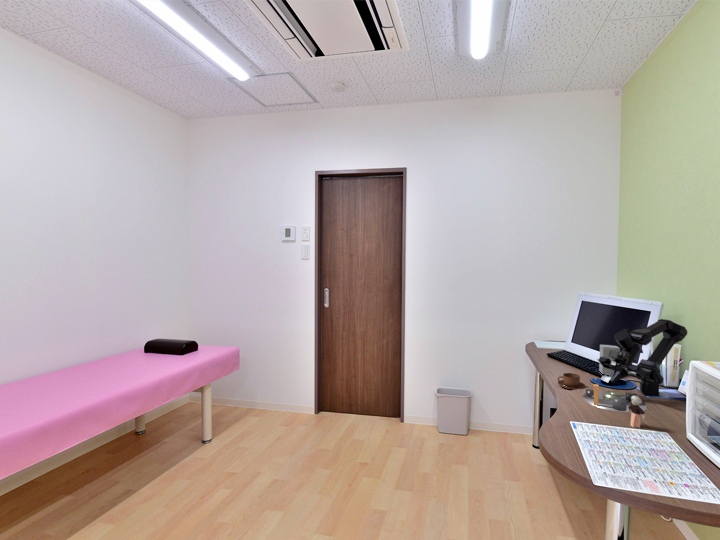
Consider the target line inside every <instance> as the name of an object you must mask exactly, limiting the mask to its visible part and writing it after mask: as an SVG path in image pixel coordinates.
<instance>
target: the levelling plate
mask: <svg viewBox="0 0 720 540" xmlns="http://www.w3.org/2000/svg"><path fill="white" fill-rule="evenodd" d="M632 396H638V394H637V393H634V392H632V391H631V392H629V391H628V392H625V394H624V393H622V392H620V391H614V390H605V391H599V399H605V400H612V401H613V397H622V398H625V399H627V410H628V407H629V406H630V405H631V404H632V399H631V397H632ZM582 400H583V401H584V402H586V403H588V404H590V405H591V406H594V407H597V408H600V409H604V410H607V411H615V412H622V413H629V412H628V411H627V410H617V409H614V408H613V406H612V405H606V404H599V405H598V406H597V405H594V388H593V389H592V388H587V389H585V393H584V394H583V395H582ZM638 406H639V407H640V408H641V409H642V410H643V411H646V410H647V409H648V405H647V404H646V403H645V402H644V401H642V403H640V404H639V405H638Z"/></svg>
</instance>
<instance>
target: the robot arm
mask: <svg viewBox="0 0 720 540" xmlns="http://www.w3.org/2000/svg"><path fill="white" fill-rule="evenodd" d="M661 333H662V336H663V337H662V338H661V340H660V342H659V343H658V345H657V346H656V347H655V349H654V350H653V352H652V353H651V354H650V356H649V357H648V359H643V358H642V359H640V361H639V362H638V364H636V363H637V360H636V358H637V357H638V355H639V354H644V351H643V347H642V346H648V345H649V344H650V343H651V342H652V340H653V338H655V337H656V336H658V335H659V334H661ZM686 336H688V329H687V328H686V327H685V326H684V325H680V324H679V323H676V322H674V321H672V320H671V319H666V318H665V319H664V318H660V319H658V320H657V321H656V322H654V323H652V324H650V325H648V326H647V327H644V328H642V329H641V328H640V329H634V330H631V331H629V330H628V329H626V328H623V329H622V330H620V331H617V332H615V333H614V335H613V339H614V340H615V341H616V342H617V344H618V345H619V346H620V348H622V351H621V350H620V351H619V352H618V351H614V350H610V353H609V357H612V358H613V360H614V361H615V362H612V361H611V360H610V359H609V358H606V357H600V356H599V358H598V360H597V362H598V363H599V362H600V363H601V365H602V366H603V367H604V368H607V369H611V376H610V383H613V384H614V383H616V382H617V381H618V382H619V380H622V379H624V378H627V377H630V376H631V373H635V375H636V377H637V380H640V382H639V392H640V393H641V394H642V395H643V396H648V397H661V394H660V385H662V384H663V383H664V377H663V376H662V375H661V367H660V366H661V364H662V363H663V362H664V361H665V359H666V357H667V356H668V355H669V353H670V352H671V350H672V348H673V347H674V345H675V344H677V343H679V342H681V341H683V339H685V338H686ZM640 345H641V346H640Z"/></svg>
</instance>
